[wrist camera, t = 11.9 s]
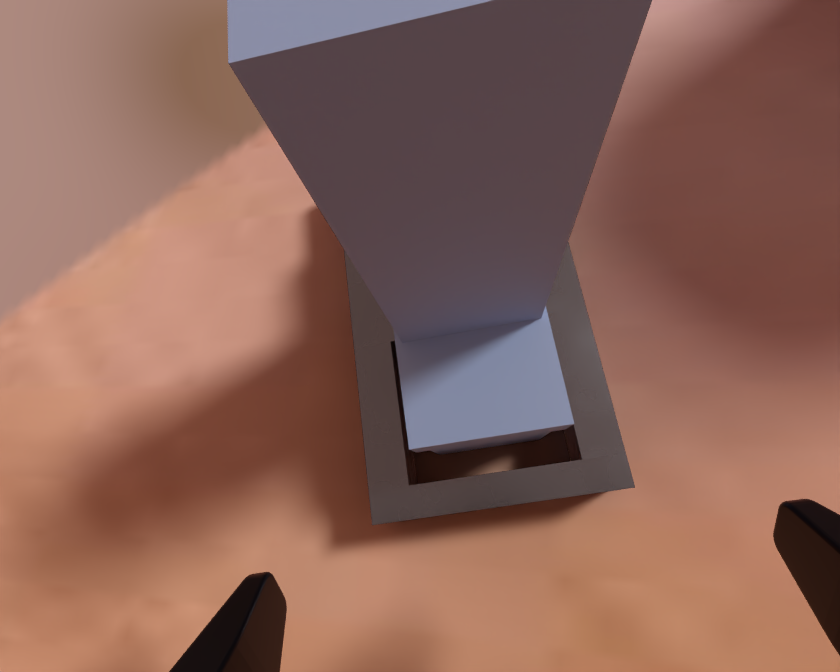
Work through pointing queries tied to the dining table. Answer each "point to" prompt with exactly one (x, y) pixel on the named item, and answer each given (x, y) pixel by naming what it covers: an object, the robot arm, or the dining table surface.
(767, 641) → the dining table surface
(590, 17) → the blue-gray inverted t block
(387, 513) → the rail
